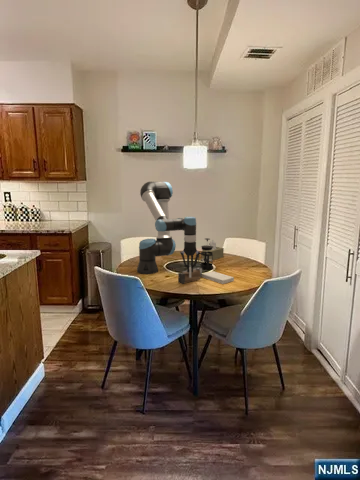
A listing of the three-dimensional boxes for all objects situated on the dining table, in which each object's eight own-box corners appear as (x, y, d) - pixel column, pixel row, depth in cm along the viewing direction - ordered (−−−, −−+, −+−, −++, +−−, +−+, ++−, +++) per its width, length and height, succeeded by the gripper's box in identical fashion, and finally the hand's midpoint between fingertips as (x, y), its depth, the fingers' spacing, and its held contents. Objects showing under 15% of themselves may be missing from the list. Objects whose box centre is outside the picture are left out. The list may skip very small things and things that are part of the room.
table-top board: (222, 284, 208) (222, 280, 208) (201, 277, 222) (202, 273, 222) (233, 280, 215) (233, 277, 215) (212, 274, 229) (213, 271, 229)
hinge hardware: (188, 282, 211) (188, 271, 209) (181, 279, 216) (181, 269, 214) (205, 277, 221) (205, 267, 220) (198, 275, 226) (198, 265, 225)
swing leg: (178, 282, 209) (178, 273, 208) (196, 277, 220) (196, 269, 219) (182, 283, 206) (182, 274, 205) (200, 279, 217) (200, 270, 216)
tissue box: (214, 255, 290) (215, 237, 287) (223, 257, 284) (224, 239, 281) (201, 258, 276) (202, 240, 273) (211, 260, 270) (211, 242, 267)
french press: (211, 266, 251) (212, 237, 247) (214, 269, 242) (215, 239, 238) (197, 266, 249) (197, 237, 245) (199, 270, 240) (200, 239, 236)
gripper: (199, 240, 208) (199, 275, 212) (179, 240, 207) (179, 275, 212) (200, 242, 201) (200, 278, 205) (180, 242, 200) (180, 279, 204)
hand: (190, 277), depth 208 cm, fingers closed
